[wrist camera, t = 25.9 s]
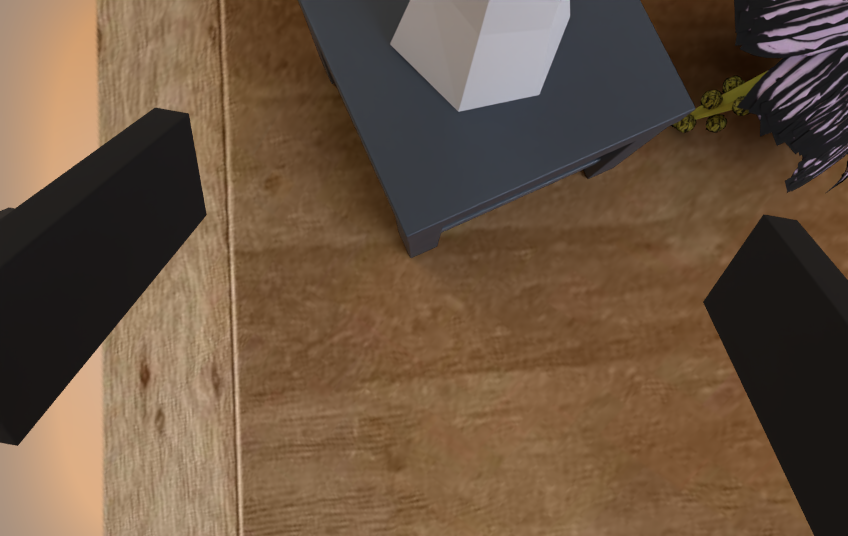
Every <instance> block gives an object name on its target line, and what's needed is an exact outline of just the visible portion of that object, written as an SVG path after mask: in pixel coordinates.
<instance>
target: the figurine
mask: <svg viewBox="0 0 848 536" xmlns="http://www.w3.org/2000/svg"><path fill="white" fill-rule="evenodd" d="M569 18H570V0H410V2H409V4H408V6H407V8H406V10H405V13H404V15H403V17H402V19H401V21H400V23H399V26H398V28H397V30H396V32H395V34H394V36H393V39H392V41H391V43H390V45H391V46H392V47H393V48H394V49H395V50H396V51H397V52H398V53H399V54H400V55H401V56H403V57H404V58H405V59H406V60H407V61H408V62H409V63H410V64H411V65H412V66H413V67H414V68H415V69H416V70H417V71H418V72H419V73H420V74H421V75H422V76H423V77H424V78H425V79H426V80H427V81H428V82H429V83H430V84H431V85H432V86H433V87H434V88H435V89H436V90H437V91H438V92H439V93H440V94H441V95H442V96H443V97H444V98H445V99H446V100H447V101H448V102H449V103H450V104H451V105H452V106H453V107H454V108H455V109H456V110H457V111H458V112H460V111H465V110H470V109H474V108H479V107H484V106H489V105H494V104H498V103H503V102H508V101H513V100H517V99H522V98H527V97H532V96H536V95H539V94H540V92H541V89H542V87H543V84H544V82H545V79H546V76H547V74H548V71H549V69H550V66H551V64H552V61H553V59H554V56H555V54H556V51H557V49H558V46H559V43H560V41H561V38H562V36H563V33H564V31H565V28H566V26H567V23H568V21H569Z"/></svg>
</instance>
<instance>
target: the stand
mask: <svg viewBox="0 0 848 536" xmlns="http://www.w3.org/2000/svg"><path fill="white" fill-rule="evenodd" d="M298 2H299V4H300V7H301V9H302V11H303V14H304V16H305V19H306V22H307V24H308V27H309V30H310V32H311V35H312V38H313V40H314V43H315V46H316V48H317V51H318V53H319V56H320V59H321V61H322V63H323V66H324V68H325V70H326V72H327V74H328V77H329V79H330V81H331V83H332V84H334V83H335V84H336V86H337V88H338V91H339V93H340V95H341V97H342V100H343V102H344V104H345V106H346V108H347V111H348V113H349V115H350V117H351V119H352V122H353V124H354V126H355V128H356V131H357V133H358V135H359V137H360V139H361V142H362V144H363V146H364V148H365V150H366V153H367V155H368V157H369V159H370V162H371V164H372V166H373V168H374V170H375V173H376V175H377V177H378V179H379V181H380V184H381V186H382V188H383V190H384V192H385V195H386V197H387V199H388V201H389V204H390V206H391V208H392V210H393V212H394V215H395V218H396V222H397V226H398V231H399V234H400V236H401V238H402V241H403V243H404V245H405V247H406V249H407V252H408V254H409V256H410V258H412V257H415V256H417V255H419V254H421V253H424V252H426V251H428V250H430V249H433V248H435V247H437V245H438V241H439V238H440V234H441V233H442V232H444V231H446V230H448V229H451V228H453V227H455V226H457V225H460V224H462V223H464V222H466V221H469V220H471V219H473V218H475V217H478V216H480V215H482V214H484V213H487V212H489V211H491V210H493V209H496V208H498V207H500V206H502V205H505V204H507V203H509V202H511V201H514V200H516V199H518V198H520V197H523V196H525V195H527V194H529V193H532V192H534V191H536V190H538V189H541V188H543V187H545V186H547V185H550V184H552V183H554V182H556V181H559V180H561V179H563V178H565V177H568V176H570V175H572V174H574V173H577V172H579V171H581V170H584V172H585V174H586V176H587V178H588V179H589V178H592V177H594V176H596V175H598V174H601V173H603V172H605V171H607V170H610V169H612V168H614V167H615V166H616V165H618V164H619V163H620V162H622V161H623V160H624V159H626V158H627V157H628V156H630V155H631V154H632V153H634V152H635V151H636V150H638V149H639V148H640V147H642V146H643V145H644V144H646V143H647V142H648V141H650V140H651V139H652V138H654V137H655V136H656V135H658V134H659V133H660V132H662V131H663V130H664V129H666V128H667V127H668V126H670V125H673V124H675V123H677V122H679V121H680V120H682V119H683V118H684V117H686V116H687V115H689V114H690V113H691V112H693V111H694V110H695V106H694V104H693V102H692V100H691V98H690V96H689V94H688V92H687V90H686V88H685V86H684V84H683V82H682V81H681V79H680V77H679V75H678V73H677V71H676V69H675V67H674V65H673V63H672V61H671V59H670V57H669V55H668V53H667V51H666V50H665V48H664V46H663V44H662V42H661V40H660V38H659V36H658V34H657V32H656V30H655V28H654V26H653V24H652V22H651V20H650V18H649V17H648V15H647V13H646V11H645V9H644V7H643V5H642V3H641V1H640V0H570V18H569V21H568V23H567V26H566V28H565V31H564V33H563V36H562V38H561V41H560V43H559V46H558V49H557V51H556V54H555V56H554V59H553V61H552V64H551V66H550V69H549V71H548V74H547V76H546V79H545V82H544V84H543V87H542V89H541V92H540V94H539V95H536V96H532V97H527V98H522V99H517V100H513V101H508V102H503V103H498V104H494V105H489V106H484V107H479V108H474V109H470V110H465V111H460V112H458V111H457V110H456V109H455V108H454V107H453V106H452V105H451V104H450V103H449V102H448V101H447V100H446V99H445V98H444V97H443V96H442V95H441V94H440V93H439V92H438V91H437V90H436V89H435V88H434V87H433V86H432V85H431V84H430V83H429V82H428V81H427V80H426V79H425V78H424V77H423V76H422V75H421V74H420V73H419V72H418V71H417V70H416V69H415V68H414V67H413V66H412V65H411V64H410V63H409V62H408V61H407V60H406V59H405V58H404V57H403V56H401V55H400V54H399V53H398V52H397V51H396V50H395V49H394V48H393V47H392V46H391V45H390V43H391V41H392V39H393V36H394V34H395V32H396V30H397V28H398V26H399V23H400V21H401V19H402V17H403V15H404V13H405V10H406V8H407V6H408V4H409V2H410V0H298Z"/></svg>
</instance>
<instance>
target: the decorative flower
mask: <svg viewBox="0 0 848 536" xmlns="http://www.w3.org/2000/svg"><path fill="white" fill-rule="evenodd" d="M734 6H735V30H736V33H737V37H736V43H735V46H737V45H742V46H741V48H740V49H741V50H743V51H745V52H747V53H750V54H752V55H755V56H760V57H765V58H783V59H782V60H781V61H780V62H779V63H777V64H776V65H775V66H774V67H772V68H771V69H769V70H768V71H766V72H764V73H762V74H761V75H759V76H757V77H755V78H753V79H751V80H749V81H748V82H746V83H745V81H744V80H742V79H741V78H742V77H739V76H735V75H734V76H733V77H730V78H727V79H726V80H725V81H724V83H723V91H722V92H723V93H725V94H723V95H721V94H722V93H721V92H720V91H718V90H710V91H707V92H705V94H704V95H703V96H702V99H701V106H699V107H698V108H696V109H695V110H694V111H693V112H691V113H690V114H689V115H687V116H686V117H684V118H683V119H682V120H680V121H679V122H677V123H675V124H673V125H671V126H672V127H674V128H676V129H677V130H679V131H681V132H683V133H686V132H688V131H690V130H692V129H693V128H694V127H695V125H696V119H701V118H704V117H708V116H710V117H709V118H708V120H707V121H706V122H707V123H706V130H708V131H710V132H714V133H717V132H718V131H721V130H722V129H724V127H726V124H727V119H726V118H725V117H724V115H721V114H719V113H722V112H726V111H729V110H732V111H733V112H734V113H736V114H737V115H738V116H743V115H745V114H749V113H753V114H757V116H758V118H759V120H760V136H763V135H766V134H768V133H771V132H772V134H773V136H774V139H775V142H776V145H777V146H778V145H780V144H782V143H784V142H785V143H786V144H787V145H788V146H789V147H790V149H791V150H792V151H793V152H794V153H795V154H796V153H798V152H799V155H802V157H803V159H802V161H801V162H799V163H798V168H797V169H796V170H795V172H794V173H793V175H792V176H791V178H789V179H787V180H785V184H786V188H787V193H788V192H790V191H793V190H795V189H797V188H799V187H801V186H802V185H804V184H806V183H807V182H809V181H811V180H812V179H814V178H815V177H817V176H818V175H820V174H821V173H823V172H824V171H825V170H827V169H828V168H829V167H831V166H832V165H833V164H835V163H836V162H838V161H839V160H840V159H842V158H843V157H844V156H845V155H846V154H848V0H734ZM711 115H712V116H711ZM846 178H848V161H847V168H846V170H845V172H844V173H843V174H842V177H841V179H840V180H839V181H838V182H837V183H836V184H835V185H834V186H833V187H832V188H834V187H836V186H837V185H838V184H839V183H842V182H843V181H844V180H845V179H846ZM832 188H831V189H832ZM831 189H830V190H831ZM830 190H829V191H830ZM827 192H828V191H827ZM827 192H826V193H827Z"/></svg>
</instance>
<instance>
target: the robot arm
mask: <svg viewBox="0 0 848 536" xmlns="http://www.w3.org/2000/svg"><path fill="white" fill-rule="evenodd" d="M206 215H207V214H206V209H205V203H204V197H203V192H202V186H201V180H200V175H199V169H198V163H197V158H196V152H195V146H194V141H193V135H192V129H191V124H190V118H189V114H188V113H183V112H177V111H171V110H166V109H160V108H154V109H153V110H151V111H150V112H148V113H147V114H146V115H144V116H143V117H141V118H140V119H139V120H137V121H136V122H135V123H133V124H132V125H130V126H129V127H128V128H126V129H125V130H123V131H122V132H121V133H119V134H118V135H116V136H115V137H114V138H112V139H111V140H110V141H108V142H107V143H105V144H104V145H103V146H101V147H100V148H98V149H97V150H96V151H94V152H93V153H92V154H90V155H89V156H87V157H86V158H85V159H83V160H82V161H80V162H79V163H78V164H76V165H75V166H73V167H72V168H71V169H69V170H68V171H67V172H65V173H64V174H62V175H61V176H60V177H58V178H57V179H55V180H54V181H53V182H52V183H50V184H49V185H47V186H46V187H45V188H43V189H42V190H40V191H39V192H37V193H36V194H35V195H33V196H32V197H30V198H29V199H28V200H26V201H25V202H24V203H22V204H21V205H19V206H18V207H17V208H15V209H14V208H7V209H5V210H2V211H0V443H6V444H12V445H17V446H18V445H19V444H20V442H21V441H22V440H23V439H24V438H25V436H26V435H27V434H28V433H29V431H30V430H31V429H32V428H33V426H34V425H35V424H36V423H37V422H38V420H39V419H40V418H41V417H42V416H43V414H44V413H45V412H46V411H47V409H48V408H49V407H50V406H51V405H52V403H53V402H54V401H55V400H56V398H57V397H58V396H59V395H60V394H61V392H62V391H63V390H64V389H65V387H66V386H67V385H68V384H69V383H70V381H71V380H72V379H73V378H74V376H75V375H76V374H77V373H78V372H79V370H80V369H81V368H82V367H83V365H84V364H85V363H86V362H87V361H88V359H89V358H90V357H91V356H92V354H93V353H94V352H95V351H96V350H97V348H98V347H99V346H100V345H101V343H102V342H103V341H104V340H105V339H106V337H107V336H108V335H109V334H110V332H111V331H112V330H113V329H114V328H115V326H116V325H117V324H118V323H119V321H120V320H121V319H122V318H123V317H124V315H125V314H126V313H127V312H128V310H129V309H130V308H131V307H132V306H133V304H134V303H135V302H136V301H137V299H138V298H139V297H140V296H141V295H142V293H143V292H144V291H145V290H146V288H147V287H148V286H149V285H150V284H151V282H152V281H153V280H154V279H155V277H156V276H157V275H158V274H159V273H160V271H161V270H162V269H163V268H164V266H165V265H166V264H167V263H168V262H169V260H170V259H171V258H172V257H173V255H174V254H175V253H176V252H177V251H178V249H179V248H180V247H181V246H182V244H183V243H184V242H185V241H186V240H187V238H188V237H189V236H190V235H191V233H192V232H193V231H194V230H195V229H196V227H197V226H198V225H199V224H200V222H201V221H202V220H203V219H204V218H205V216H206ZM703 303H704V305H705V307H706V309H707V311H708V313H709V315H710V317H711V319H712V322H713V324H714V326H715V328H716V330H717V332H718V334H719V336H720V338H721V341H722V343H723V345H724V347H725V349H726V351H727V353H728V355H729V357H730V359H731V362H732V364H733V366H734V368H735V370H736V372H737V374H738V376H739V378H740V380H741V383H742V385H743V387H744V389H745V391H746V393H747V395H748V397H749V399H750V402H751V404H752V406H753V408H754V410H755V412H756V414H757V416H758V418H759V420H760V423H761V425H762V427H763V429H764V431H765V433H766V435H767V437H768V439H769V441H770V444H771V446H772V448H773V450H774V452H775V454H776V456H777V458H778V460H779V463H780V465H781V467H782V469H783V471H784V473H785V475H786V477H787V479H788V481H789V484H790V486H791V488H792V490H793V492H794V494H795V496H796V498H797V500H798V502H799V505H800V507H801V509H802V511H803V513H804V515H805V517H806V519H807V521H808V524H809V526H810V528H811V530H812V532H813V534H814V536H848V280H847V279H846V278H845V276H844V275H843V274H842V273H841V272H840V270H839V269H838V268H837V267H836V266H835V265H834V263H833V262H832V261H831V260H830V259H829V257H828V256H827V255H826V254H825V253H824V252H823V250H822V249H821V248H820V247H819V246H818V244H817V243H816V242H815V241H814V240H813V239H812V237H811V236H810V235H809V234H808V233H807V231H806V230H805V229H804V228H803V227H802V226H801V224H800V223H799V222H798V221H797V220H792V219H787V218H781V217H775V216H769V215H763V216H762V217H761V219H760V220H759V222H758V223H757V225H756V226H755V228H754V229H753V231H752V232H751V233H750V235H749V236H748V238H747V239H746V241H745V242H744V244H743V245H742V246H741V248H740V249H739V251H738V252H737V254H736V255H735V257H734V258H733V260H732V261H731V262H730V264H729V265H728V267H727V268H726V270H725V271H724V273H723V274H722V276H721V277H720V278H719V280H718V281H717V283H716V284H715V286H714V287H713V289H712V290H711V291H710V293H709V294H708V296H707V297H706V299H705V300H704V302H703Z"/></svg>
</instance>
